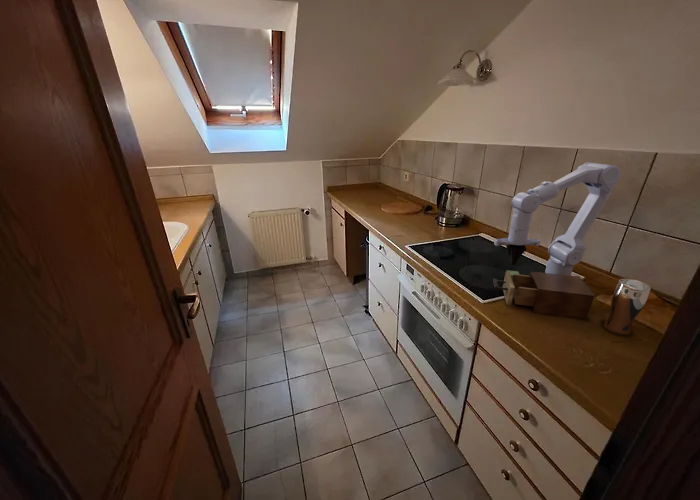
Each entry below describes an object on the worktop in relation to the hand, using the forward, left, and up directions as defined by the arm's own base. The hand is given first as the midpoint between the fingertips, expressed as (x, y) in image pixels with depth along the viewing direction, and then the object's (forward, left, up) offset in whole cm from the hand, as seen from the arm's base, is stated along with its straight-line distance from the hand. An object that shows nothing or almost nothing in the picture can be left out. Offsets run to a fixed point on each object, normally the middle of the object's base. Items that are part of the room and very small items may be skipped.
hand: (512, 263), depth 108 cm
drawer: (+9, +2, -9) cm, 13 cm away
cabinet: (+9, +13, -10) cm, 18 cm away
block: (-4, +2, -10) cm, 11 cm away
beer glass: (+18, +27, -10) cm, 34 cm away
